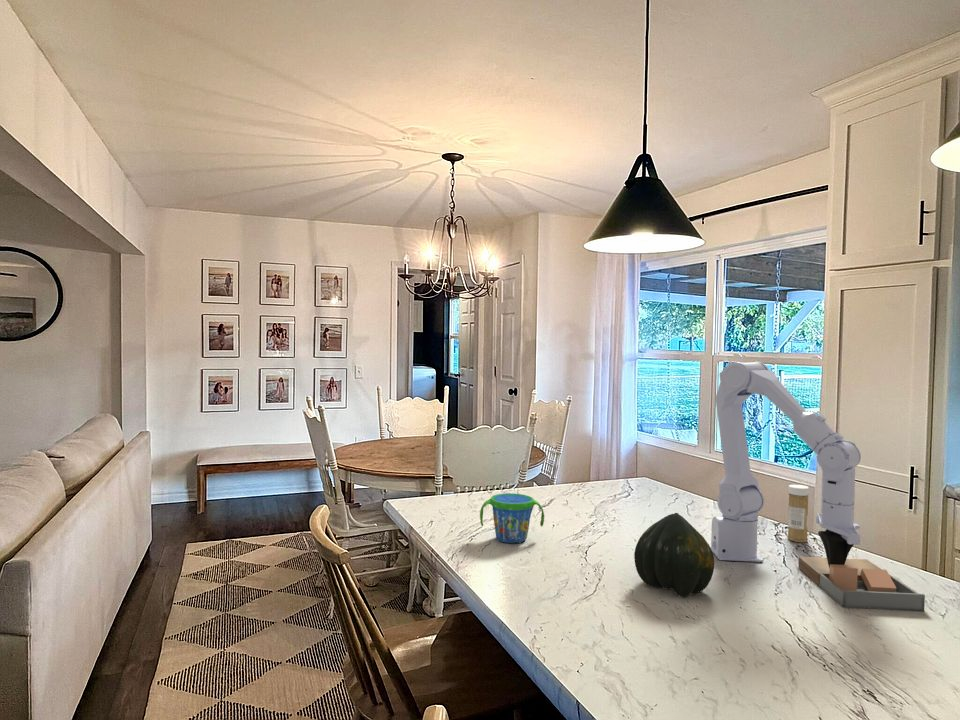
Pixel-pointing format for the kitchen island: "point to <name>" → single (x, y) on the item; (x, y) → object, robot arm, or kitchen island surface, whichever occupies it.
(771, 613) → the kitchen island surface
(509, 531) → the snack cup
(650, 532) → the squash
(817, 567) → the walnut board
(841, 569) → the tile left
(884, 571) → the tile right
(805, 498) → the sprinkles bottle
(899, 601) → the tray
